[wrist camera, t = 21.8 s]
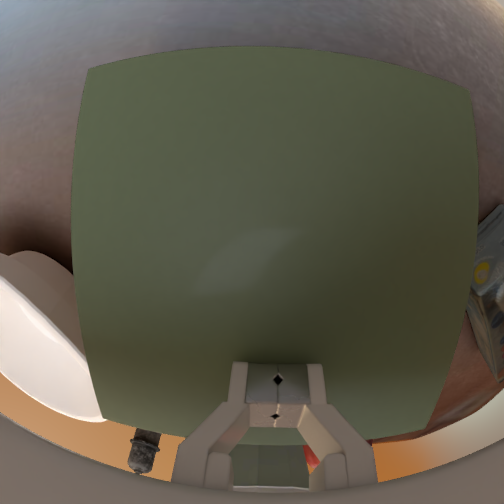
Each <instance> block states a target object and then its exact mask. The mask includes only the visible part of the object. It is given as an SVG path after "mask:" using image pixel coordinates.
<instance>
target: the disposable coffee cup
mask: <svg viewBox="0 0 504 504" xmlns="http://www.w3.org/2000/svg"><path fill="white" fill-rule="evenodd" d="M228 455H229V456H230V457H231V460H232V466H233V472H234V481H233V491H239V492H257V493H296V492H309V471H308V467H307V462H306V458H305V454H304V450H303V446H302V445H251V444H236V446H235V447H234V448H233V449H232V450H231V452H230V453H229V454H228Z"/></svg>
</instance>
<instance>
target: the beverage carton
mask: <svg viewBox="0 0 504 504" xmlns="http://www.w3.org/2000/svg"><path fill="white" fill-rule="evenodd" d="M466 309H467V312H468V316H469V319H470V322H471V325H472V328H473V332H474V335H475V338H476V341H477V344H478V348H479V350H480V352H481V354H482V356H483V358H484V359H485V361H486V363H487V365H488V366H489V368H490V370H491V372H492V374H493V376H494V378H495V379H496V381H497V383H501V382H502V381H503V380H504V205H503V204H500V205H498V206H497V207H496V208H495V210H494V211H493V212H492V213H491V214H489V215H488V216H487V217H486V218H485V220H483V221H482V222H481V223H480V224H479V225H478V230H477V242H476V252H475V260H474V268H473V274H472V281H471V286H470V292H469V297H468V302H467V307H466Z"/></svg>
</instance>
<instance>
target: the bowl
mask: <svg viewBox="0 0 504 504" xmlns="http://www.w3.org/2000/svg"><path fill="white" fill-rule="evenodd" d="M0 372H1V373H2V374H3V375H4V376H5V377H6V378H7V379H8V380H10V381H11V382H12V383H13V384H14V385H16V386H17V387H18V388H19V389H21V390H22V391H24V392H25V393H26V394H28V395H29V396H30V397H32V398H33V399H35V400H37V401H39V402H40V403H42V404H43V405H45V406H47V407H49V408H51V409H53V410H55V411H57V412H59V413H61V414H64V415H66V416H69V417H72V418H75V419H79V420H83V421H88V422H103V421H106V420H107V419H103V418H102V415H101V412H100V409H99V405H98V402H97V399H96V395H95V392H94V388H93V384H92V380H91V377H90V372H89V368H88V364H87V360H86V355H85V350H84V345H83V340H82V335H81V329H80V323H79V317H78V310H77V303H76V295H75V286H74V276H73V275H72V274H71V273H70V272H69V271H68V270H67V269H66V268H64V267H63V266H62V265H60V264H59V263H58V262H56V261H55V260H53V259H51V258H49V257H48V256H46V255H44V254H41V253H38V252H35V251H22V252H18V253H15V254H12V255H10V256H7V255H5V254H2V253H0Z"/></svg>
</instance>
